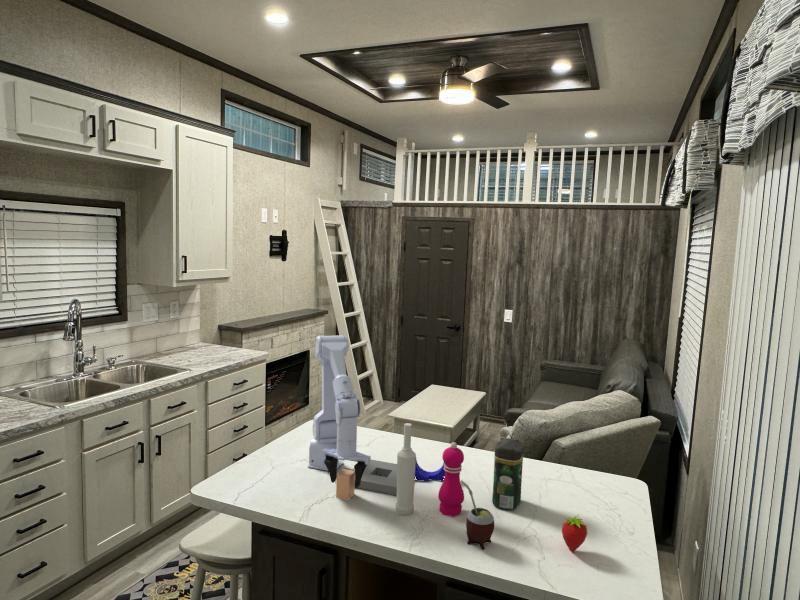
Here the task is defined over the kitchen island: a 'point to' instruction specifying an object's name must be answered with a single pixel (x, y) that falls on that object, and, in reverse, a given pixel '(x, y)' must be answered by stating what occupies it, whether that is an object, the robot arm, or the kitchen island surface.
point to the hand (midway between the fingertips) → (345, 483)
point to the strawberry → (574, 533)
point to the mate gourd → (479, 524)
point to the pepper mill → (452, 482)
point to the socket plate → (380, 477)
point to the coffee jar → (507, 474)
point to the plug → (345, 484)
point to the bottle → (405, 475)
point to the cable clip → (429, 473)
